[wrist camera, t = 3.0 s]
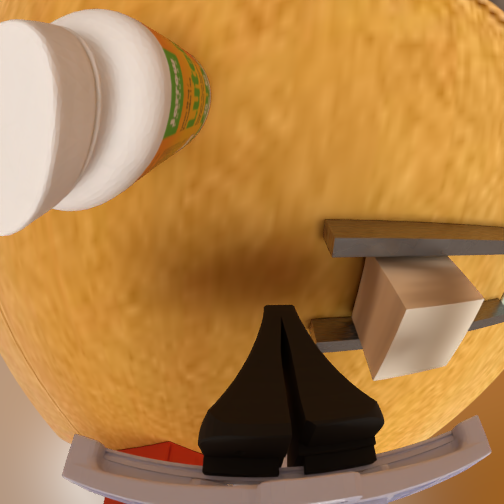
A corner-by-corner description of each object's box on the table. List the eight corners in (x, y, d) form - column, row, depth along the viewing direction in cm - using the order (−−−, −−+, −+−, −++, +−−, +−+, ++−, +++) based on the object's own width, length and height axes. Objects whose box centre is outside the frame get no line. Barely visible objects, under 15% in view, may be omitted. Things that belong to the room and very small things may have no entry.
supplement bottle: (231, 127, 12) (169, 198, 3) (131, 174, 13) (-8, 298, 4) (186, 28, 9) (58, -72, 1) (90, 84, 10) (-82, 115, 2)
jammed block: (351, 316, 17) (373, 380, 12) (368, 247, 14) (406, 309, 10) (416, 310, 17) (445, 365, 12) (439, 247, 14) (484, 298, 10)
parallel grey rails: (309, 330, 18) (314, 353, 16) (325, 219, 14) (334, 237, 12) (494, 307, 18) (504, 321, 16) (526, 229, 14) (541, 241, 12)
